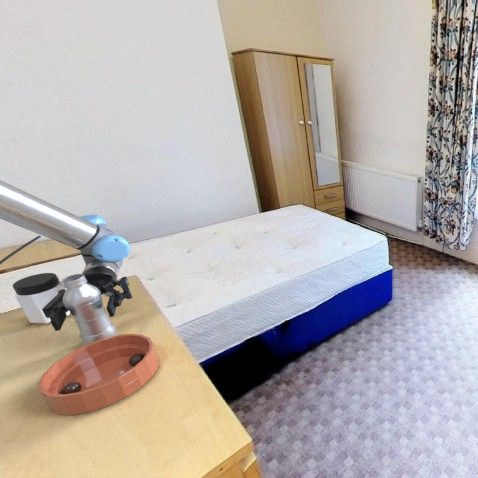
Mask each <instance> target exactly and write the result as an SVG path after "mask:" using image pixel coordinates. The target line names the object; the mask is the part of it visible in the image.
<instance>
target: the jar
mask: <svg viewBox="0 0 478 478" xmlns="http://www.w3.org/2000/svg"><path fill="white" fill-rule="evenodd" d="M12 288H13V290H14V291H15V293H16V294H15V295H14V297H15V299H16V300H17V302H18V304H19V306H20V307H21V309H22V311H23V312H24V314H25V316H26V318H27V320H28V321H29V323H31V324H50V323H51V320H50V318H46V316H45V314H44V313H43V311H42V309H43V308H44V307H45V306H46V305H47V304H48V303H49V302H50V301H51V300H52V299H53V298H54V297H55V296H56V295H57V294H58V291H59V290H62V289H65V291H66V290H67V288H64V284H63V282H62V280H60V279H59V277H58V275H57V274H56V273H55V272H43V273H37V274H33V275H29V276H25V277H23V278H20V279H18V280H16V281H15V282H14V283H13V284H12ZM70 314H71V313H70V311H68V312H66V315H67V316H66V317H68V316H69V315H70Z"/></svg>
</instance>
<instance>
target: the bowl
mask: <svg viewBox="0 0 478 478" xmlns="http://www.w3.org/2000/svg"><path fill="white" fill-rule="evenodd" d="M135 354H143V355H144V356H145V357H144V358H143V360H142V361H140V362H139V363H138V364H137V365H136V366H135V367H132V366H130V365H129V359H130V358H131V357H132V356H133V355H135ZM159 365H160V357H159V355H158V352H157V350H156V346H155V345H154V342H153V341H152V339H151V337H149V336H147V335H144V334H141V333H127V334H126V333H125V334H119V335H117V336H113V337H109V338H105V339H101V340H99V341H96V342H93V343H91V344H88V345H85V346H84V345H83V346H81V347H79V348H77V349H75V350H73V351H71V352H70V353H68V354H66V355H65V356H63V357H61V358H60V359H59V360H57V361H55V362H54V363H53V364H52V365H51V366H50V367H48V369H46V370H45V372H44V373H43V374H42V375H41V376H40V379H39V381H38V383H37V386H38V391H39V393H40V395H41V396H42V398H43V400H44V401H45V403H46V404H47V406H48V408H49V410H51V411H53V413H56V414H57V415H64V416H76V415H82V414H88V413H92V412H95V411H98V410H100V409H103V408H106V407H109V406H111V405H113V404H115V403H117V402H119V401H121V400H123V399H125V398H127V397H128V396H130V395H132V394H133V393H135V392H136V391H137V390H139V389H141V388H142V387H143V386H145V384H146V383H147V382H148V381H150V379H152V377H154V375H155V373H156V371H158V368H159ZM70 382H79V383H80V384H81V385H82V389H81V391H80V392H77V393H71V394H61V389H62V388H63V386H64V385H66V384H67V383H70Z"/></svg>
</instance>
